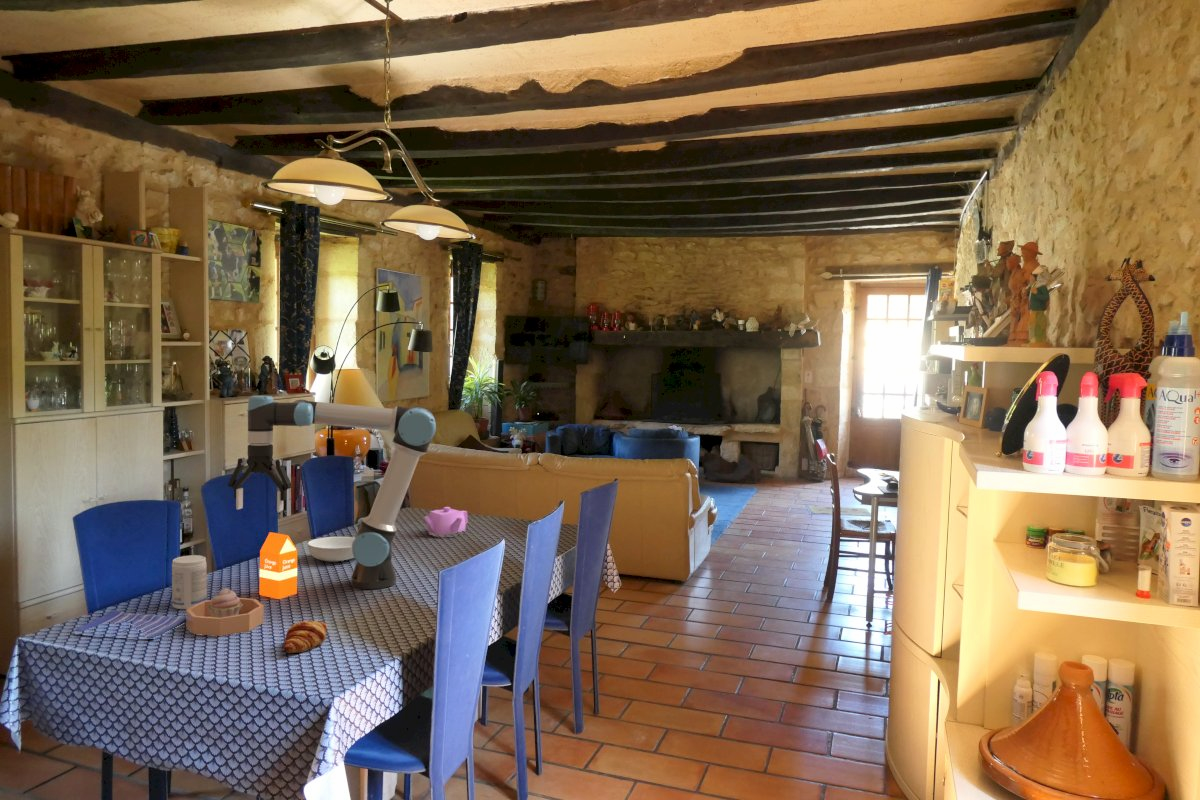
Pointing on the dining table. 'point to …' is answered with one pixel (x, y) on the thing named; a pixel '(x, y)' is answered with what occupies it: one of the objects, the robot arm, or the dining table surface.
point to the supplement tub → (189, 581)
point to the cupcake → (225, 604)
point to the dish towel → (138, 622)
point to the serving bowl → (332, 548)
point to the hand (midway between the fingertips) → (259, 509)
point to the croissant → (304, 636)
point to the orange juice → (278, 567)
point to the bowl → (224, 619)
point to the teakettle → (446, 521)
